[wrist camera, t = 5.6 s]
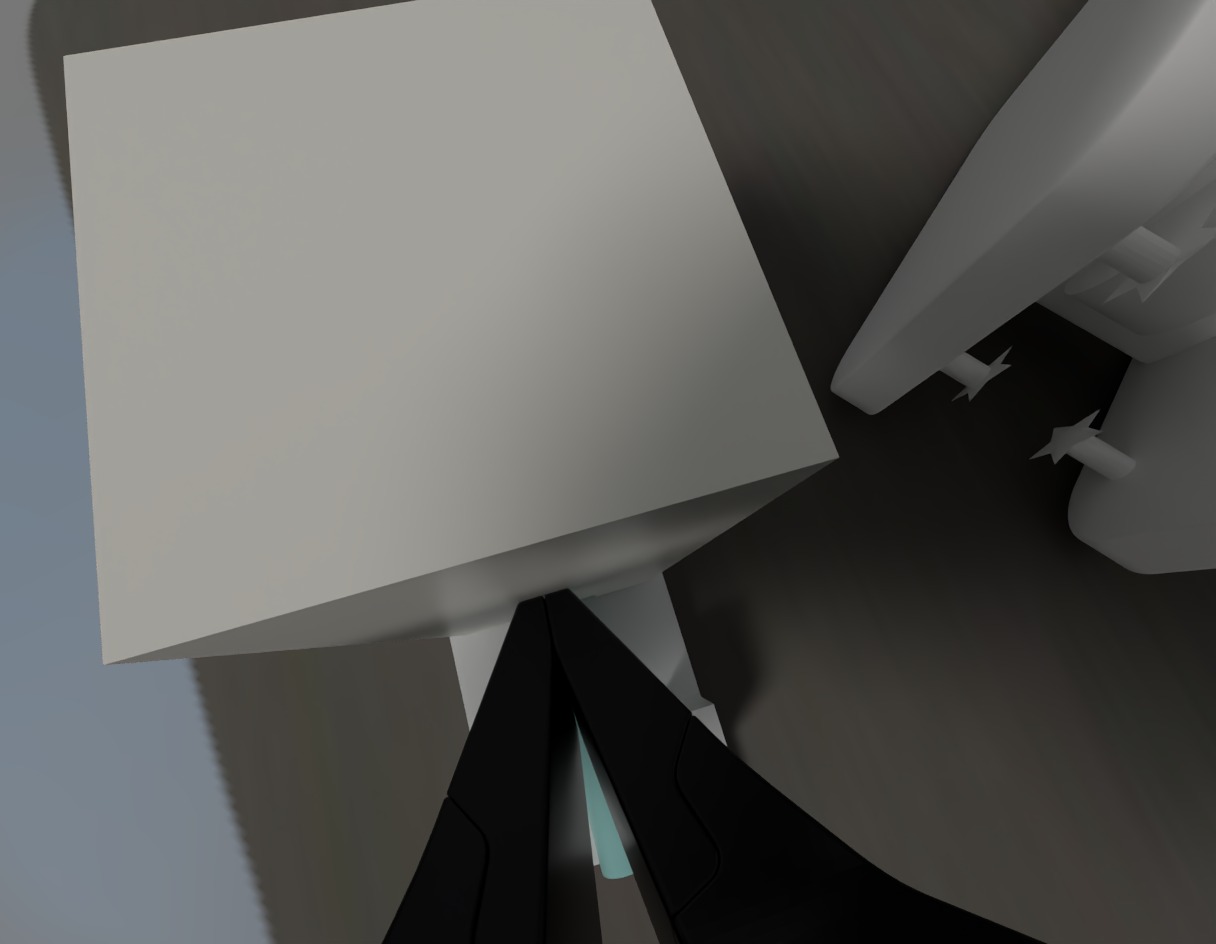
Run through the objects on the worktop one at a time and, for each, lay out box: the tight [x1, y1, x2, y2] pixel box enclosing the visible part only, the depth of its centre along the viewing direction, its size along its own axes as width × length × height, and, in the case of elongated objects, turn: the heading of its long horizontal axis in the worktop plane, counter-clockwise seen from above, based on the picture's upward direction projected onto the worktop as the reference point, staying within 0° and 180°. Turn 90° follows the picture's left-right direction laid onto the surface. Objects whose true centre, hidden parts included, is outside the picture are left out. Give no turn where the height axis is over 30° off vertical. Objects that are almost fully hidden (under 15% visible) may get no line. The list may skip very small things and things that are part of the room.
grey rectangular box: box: [63, 0, 839, 665], centre depth 10 cm, size 5×5×12 cm
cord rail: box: [450, 572, 727, 879], centre depth 15 cm, size 24×6×5 cm, turn 17°
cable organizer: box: [831, 0, 1216, 574], centre depth 14 cm, size 15×11×12 cm
